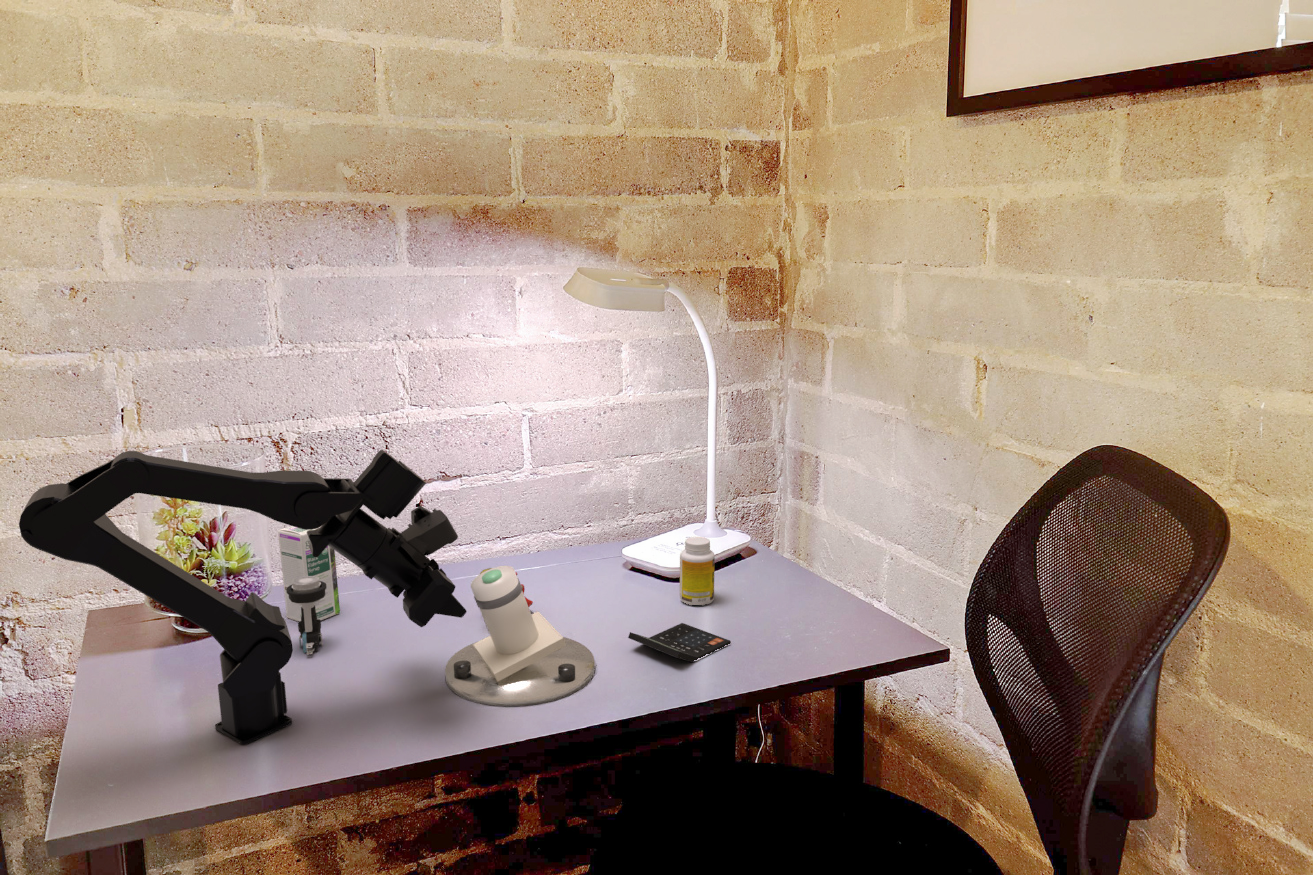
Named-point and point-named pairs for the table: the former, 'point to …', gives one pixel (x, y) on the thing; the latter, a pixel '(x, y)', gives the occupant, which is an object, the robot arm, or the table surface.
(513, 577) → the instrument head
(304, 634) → the push button
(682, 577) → the supplement bottle
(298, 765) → the table surface
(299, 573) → the syrup box
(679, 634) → the calculator
